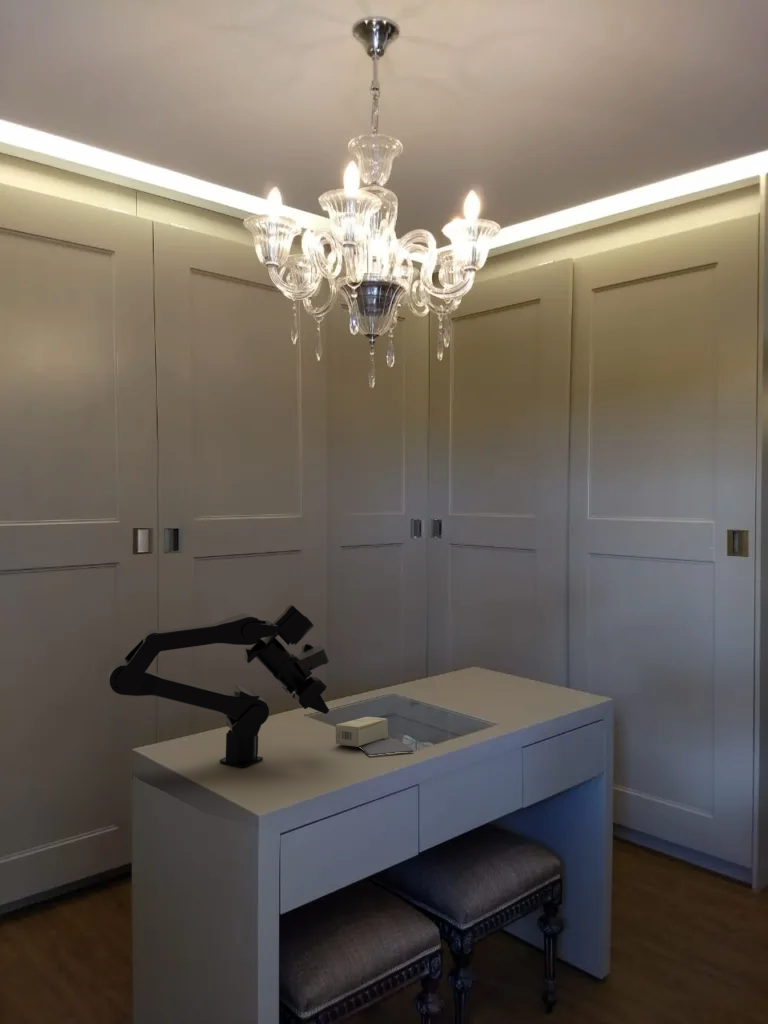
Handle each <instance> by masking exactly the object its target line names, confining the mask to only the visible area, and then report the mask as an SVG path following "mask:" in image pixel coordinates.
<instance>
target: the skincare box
mask: <svg viewBox="0 0 768 1024" xmlns="http://www.w3.org/2000/svg"><path fill="white" fill-rule="evenodd" d="M388 729H389V727H388V718H384V717H375V716H364V717H361V718H357V719H352V720H349V721H345V722H341V723H337V724H335V744H336V745H340V746H347V747H348V746H349V747H358V746H361V745H364V744H368V743H371V742H374V741H377V740H385V739H387V738H388V737H389V736H388V735H389V731H388ZM358 748H359V747H358Z"/></svg>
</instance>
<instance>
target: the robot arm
mask: <svg viewBox="0 0 768 1024" xmlns="http://www.w3.org/2000/svg"><path fill="white" fill-rule="evenodd" d="M314 627H315V625H314V624H313V623H312V621H311V620H310V619H309V618H308V617H307V616H306V615H304V614H303V613H302V612H301V611H300V610H298V609H297V608H296V607H295V606H294V605H293V604H289V605H288V606H287V607H286V608H285V610H284V611H283V612H282V613H281V615H280V616H278V617H277V618H276V619H275V620H274V621H273V622H272V621H271V620H270V621H269V620H268V619H267V620H263V619H259V618H257V616H255V615H253V614H251V613H244V612H243V613H240V614H237V615H232V616H230V617H227V618H225V619H222V620H219V621H218V622H214V623H209V624H208V623H207V624H199V625H192V626H185V627H177V628H169V629H163V630H162V629H161V630H156V629H155V630H149V631H148V632H145V634H144V636H143V638H142V639H141V640H140V641H139V642H138V643H137V644H136V645H135V646H134V647H133V648H132V649H131V650H130V651H129V652H128V654H127V655H126V656H125V657H124V658H122V659H119V660H117V661H116V662H114V663H113V664H112V665H111V667H110V669H109V673H108V679H109V685H110V687H111V690H112V691H113V692H114V693H116V694H118V695H120V696H130V697H147V696H149V697H151V696H152V697H153V696H154V697H158V698H162V699H167V700H171V701H174V702H179V703H183V704H186V705H191V706H195V707H198V708H202V709H206V710H210V711H215V712H218V713H222V714H223V715H225V716H224V720H225V724H226V726H227V727H228V728H229V729H228V730H227V732H226V734H225V757H223V758H221V759H219V763H221V764H225V765H229V766H233V767H238V768H242V769H243V768H246V767H249V766H251V765H254V764H256V763H258V762H261V761H263V760H264V757H263V756H259V755H258V754H259V732H260V730H261V727H262V725H264V723H265V722H266V721H267V720H268V718H269V716H270V708H269V705H268V704H267V702H266V701H265V700H264V699H263V698H262V696H260V695H259V694H258V693H257V691H256V690H255V689H254V688H250V689H249V688H244V687H242V686H240V685H238V684H236V685H235V686H234V691H233V690H232V691H225V690H224V691H223V690H220V689H215V688H212V687H207V686H204V685H200V684H197V683H193V682H189V681H185V680H183V679H182V680H181V679H179V678H178V679H177V678H174V677H170V676H167V675H162V674H159V673H157V672H155V671H154V670H152V669H150V668H149V667H150V666H151V664H152V663H153V661H154V660H155V658H156V657H157V656H158V655H159V654H160V652H166V651H172V650H178V649H185V648H193V647H200V646H201V647H202V646H207V645H214V644H227V645H235V646H236V645H239V646H241V645H242V646H250V647H244V650H243V651H244V657H243V659H244V660H245V661H246V663H247V664H250V663H251V662H252V661H253V660H254V659H256V661H258V662H259V663H260V664H261V665H262V666H263V667H264V668H265V669H266V671H268V672H269V673H270V675H271V676H272V677H273V678H274V679H276V680H277V681H278V685H279V686H280V687H281V688H282V689H283V690H284V691H285V692H286V693H289V694H290V695H291V694H293V695H292V698H293V700H295V701H296V702H297V703H298V704H299V705H300V706H301V707H302V708H303V709H304V710H306V709H308V708H309V709H312V710H315V711H317V712H319V713H322V714H324V715H327V714H328V713H329V712H330V709H329V707H328V705H327V703H326V702H325V700H324V699H323V697H322V694H323V693H324V692H325V691H326V689H327V685H326V684H325V683H324V682H323V681H322V679H320V678H318V677H317V676H311V675H312V674H313V672H312V670H314V669H317V668H319V667H320V666H322V665H326V664H328V663H329V662H330V660H329V658H328V656H327V653H326V649H325V648H324V647H323V646H321V645H314V646H313V645H311V644H310V643H309V642H308V643H305V644H303V645H301V652H299V654H298V655H294V654H293V653H292V652H290V651H289V650H288V649H286V648H287V647H285V646H284V645H283V644H282V643H281V642H280V641H279V640H278V638H279V639H280V640H281V641H282V642H283V643H284V644H285V645H286V646H290V645H294V646H296V645H297V644H298V643H299V642H300V641H301V640H302V639H303V638H304V637H305V636H306V635H307V634H308V633H309V632H310V631H311V630H312V629H314ZM277 637H278V638H277Z"/></svg>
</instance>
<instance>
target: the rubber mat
mask: <svg viewBox="0 0 768 1024" xmlns="http://www.w3.org/2000/svg"><path fill="white" fill-rule="evenodd" d="M359 747H361V748H362V749H363V750H364V751H365V752H366V753H367V754H368V755H378V754H386V753H395V752H413V753H414V750H413V748H411V747H410V746H408V745H407V744H405V743H404V742H403V741H402V740H400V739H399V738H392V739H380V740H377V741H374V742H371V743H368V744H364V745H361V746H359ZM359 747H358V748H359ZM368 755H367V756H368Z"/></svg>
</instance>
